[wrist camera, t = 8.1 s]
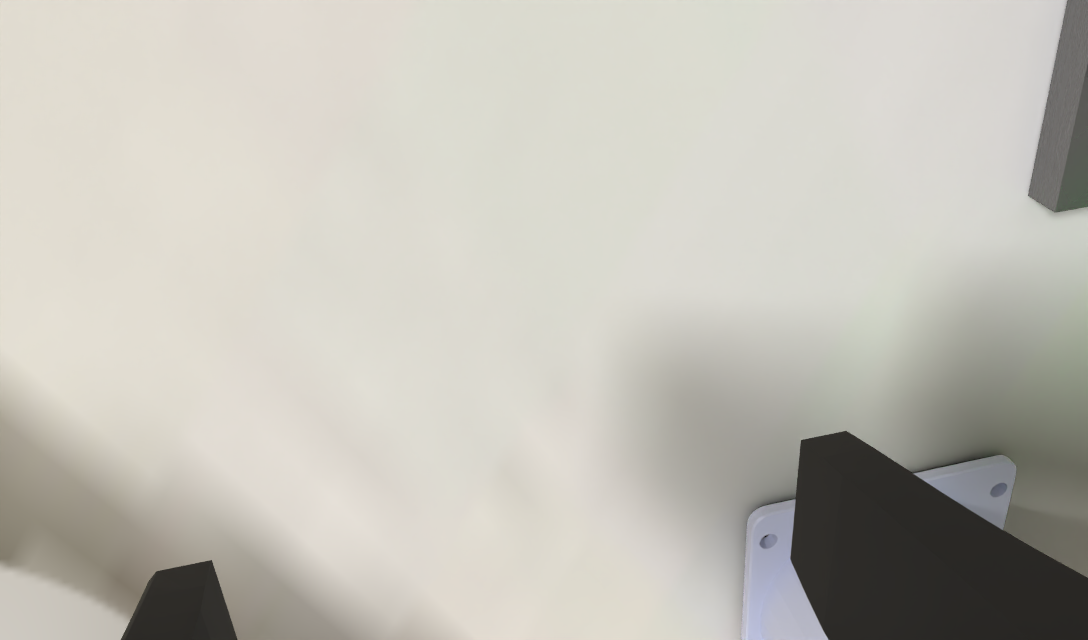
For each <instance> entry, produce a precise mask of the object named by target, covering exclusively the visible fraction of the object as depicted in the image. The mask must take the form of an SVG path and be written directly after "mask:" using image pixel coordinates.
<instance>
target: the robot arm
mask: <svg viewBox="0 0 1088 640" xmlns="http://www.w3.org/2000/svg"><path fill="white" fill-rule="evenodd" d="M1016 473H1017V467H1016V465H1015V464H1014V463H1013V462H1012V461H1011V460H1010V459H1009V458H1008V457H1007V456H1004V455H996V456H992V457H987V458H982V459H978V460H973V461H969V462H964V463H959V464H955V465H950V466H946V467H941V468H936V469H932V470H927V471H922V472H918V473H911V472H910V471H908V470H907V469H905V468H904V467H902V466H901V465H899V464H898V463H896V462H894V461H893V460H891V459H890V458H888V457H887V456H885V455H884V454H882V453H881V452H879V451H877V450H876V449H874V448H873V447H871V446H870V445H868V444H866V443H865V442H863V441H862V440H860V439H858V438H857V437H855V436H854V435H852V434H850V433H849V432H847V431H844V432H839V433H834V434H829V435H824V436H819V437H814V438H809V439H805V440H801V447H800V457H799V468H798V479H797V490H796V499H793V500H789V501H784V502H780V503H775V504H770V505H766V506H762V507H760V508H758V509H756V510H755V511H754V512H753V513H752V514H751V515H750V517H749V518H748V522H747V535H746V555H745V574H744V593H743V613H742V632H741V640H1088V578H1087V577H1085V576H1083V575H1081V574H1080V573H1078V572H1076V571H1074V570H1072V569H1070V568H1069V567H1067V566H1065V565H1063V564H1061V563H1060V562H1058V561H1056V560H1054V559H1052V558H1051V557H1049V556H1047V555H1045V554H1043V553H1041V552H1040V551H1038V550H1036V549H1034V548H1033V547H1031V546H1029V545H1027V544H1026V543H1024V542H1022V541H1021V540H1019V539H1017V538H1015V537H1014V536H1012V535H1010V534H1009V533H1007V532H1005V531H1004V530H1003V529H1004V524H1005V520H1006V516H1007V511H1008V507H1009V503H1010V499H1011V494H1012V490H1013V486H1014V481H1015V477H1016ZM768 534H769V535H768ZM766 535H768V536H767V537H765V538H763V537H764V536H766ZM762 538H763V539H762ZM121 640H237V637H236V634H235V631H234V628H233V624H232V621H231V618H230V615H229V612H228V609H227V606H226V603H225V600H224V597H223V594H222V590H221V587H220V584H219V581H218V578H217V575H216V572H215V569H214V566H213V563H212V560H210V561H205V562H200V563H196V564H191V565H186V566H181V567H176V568H171V569H166V570H161V571H157V572H156V573H155V574H154V575H153V577H152V578H151V579H150V580H149V582H148V584H147V586H146V588H145V590H144V593H143V595H142V597H141V599H140V601H139V603H138V605H137V607H136V610H135V612H134V614H133V616H132V618H131V620H130V622H129V624H128V626H127V628H126V630H125V632H124V635H123V636H122V638H121Z"/></svg>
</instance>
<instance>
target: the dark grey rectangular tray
mask: <svg viewBox="0 0 1088 640" xmlns="http://www.w3.org/2000/svg"><path fill="white" fill-rule="evenodd" d="M1028 196H1030V197H1031V198H1033V199H1034V200H1036V201H1038V202H1039V203H1041V204H1042V205H1044V206H1046V207H1047V208H1049V209H1050V210H1052V211H1054V212H1060V211H1066V210H1072V209H1077V208H1083V207H1088V0H1068V1H1067V6H1066V11H1065V16H1064V20H1063V25H1062V30H1061V35H1060V40H1059V45H1058V50H1057V55H1056V60H1055V65H1054V70H1053V75H1052V80H1051V85H1050V90H1049V95H1048V100H1047V105H1046V110H1045V115H1044V120H1043V125H1042V130H1041V134H1040V139H1039V144H1038V149H1037V154H1036V159H1035V164H1034V169H1033V174H1032V179H1031V184H1030V189H1029V194H1028Z"/></svg>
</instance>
